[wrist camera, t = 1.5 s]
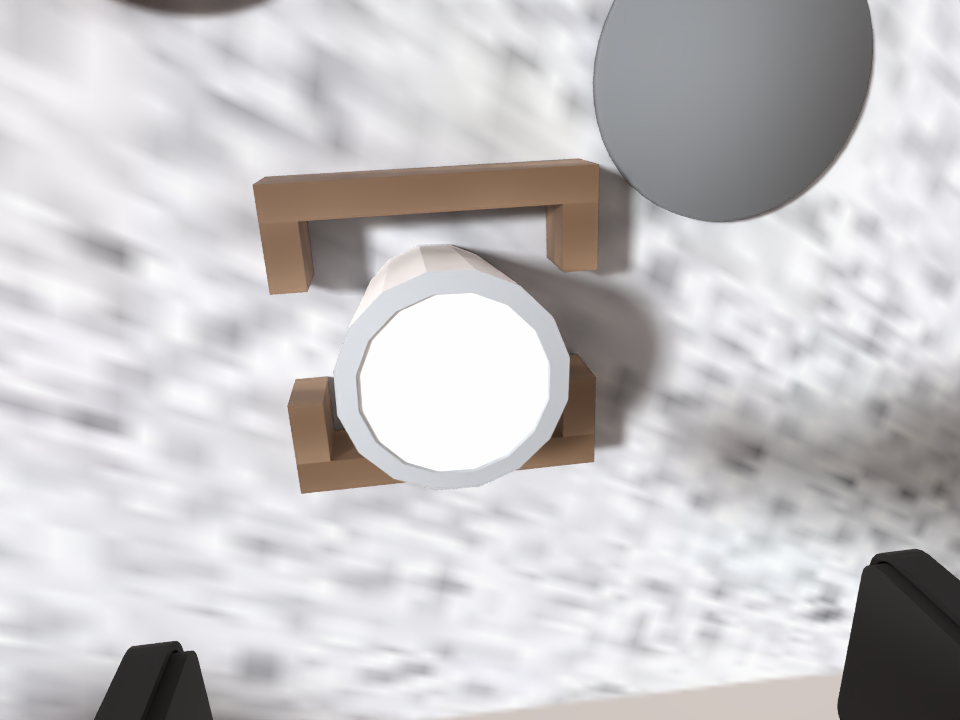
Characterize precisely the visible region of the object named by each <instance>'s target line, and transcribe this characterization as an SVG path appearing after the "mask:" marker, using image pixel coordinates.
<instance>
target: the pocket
mask: <svg viewBox="0 0 960 720" xmlns="http://www.w3.org/2000/svg"><path fill="white" fill-rule="evenodd" d="M253 190H254V196H255V203H256V209H257V216H258V222H259V228H260V235H261V241H262V247H263V254H264V260H265V266H266V273H267V279H268V285H269V292H270V295H273V294H286V293H299V292H308V289H309V286H310V284H311V281H312V278H313V276H314V270H313V262H312V255H311V247H310V240H309V232H308V224H307V221H312V220H327V219H342V218H357V217H373V216H388V215H403V214H419V213H434V212H449V211H465V210H480V209H495V208H510V207H526V206H541V205H546V228H547V258H548V259H549V260H550V261H552V262H553V263H554V264H555V265H556V266H557V267H558V268H559V269H560V270H561V271H562V272H573V271H586V270H597V260H598V200H599V164H596V163H592V162H589V161H585V160H582V159H564V160H546V161H529V162H512V163H495V164H477V165H460V166H443V167H426V168H408V169H391V170H374V171H357V172H339V173H322V174H305V175H288V176H270V177H264V178H263V179H261V180H259V181H258V182H256V183H255V184H253ZM569 357H570V364H569V392H568V401H567V403H566V406H565V408H564V410H563V412H562V414H561V416H560V419H559V421H558V423H557V425H556V427H555V429H554V432H553V434H552V436H551V438H550V439H549V440H548V441H547V442H546V443H545V444H544V445H543V446H542V447H541V448H540V449H539V450H538V451H537V452H536V453H535V454H534V455H533V456H532V457H531V458H530V459H529V460H528V461H526V462H525V463H524V464H523V465H522V466H521V467H520V468H519V469H517V470H524V469H533V468H542V467H551V466H561V465H570V464H579V463H588V462H594V441H595V380H596V377H595V376H594V375H593V373H592V372H591V371H590V370H589V368H588V367H587V366H586V364H585V363H584V362H583V361H582V359H581V358H580V357H579V356H578V354H572V355H569ZM288 413H289V419H290V425H291V432H292V438H293V444H294V451H295V457H296V463H297V470H298V476H299V483H300V489H301V494H303V493H312V492H321V491H330V490H340V489H349V488H358V487H367V486H376V485H386V484H395V483H404V481H400V480H397V479H393V478H392V477H391V476H389V475H388V474H387V473H385V472H384V471H383V470H381V469H380V468H379V467H377V466H376V465H375V464H373V463H372V462H371V461H369V460H368V459H367V458H365V457H364V456H363V455H361V454H360V453H359V452H358V450H357V449H356V447H355V445H354V444H353V442H352V440H351V438H350V437H349V435H348V433H347V431H346V430H336V431H335V428H334V421H333V413H332V406H331V398H330V391H329V383H328V377H318V378H307V379H296V380H295V383H294V387H293V390H292V393H291V396H290V400H289V403H288Z"/></svg>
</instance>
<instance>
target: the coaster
mask: <svg viewBox="0 0 960 720" xmlns="http://www.w3.org/2000/svg"><path fill="white" fill-rule="evenodd" d="M872 53H873V39H872V25H871V18H870V11H869V7H868V4H867V0H614V2H613V4H612V7H611V9H610V11H609V13H608V16H607V18H606V20H605V23H604V26H603V29H602V32H601V35H600V39H599V42H598V47H597V52H596V57H595V63H594V76H593V94H594V107H595V113H596V118H597V123H598V127H599V130H600V133H601V137H602V140H603V142H604V145H605V147H606V149H607V151H608V153H609V156H610V158H611V159H612V161H613V162H614V164H615V166H616V167H617V169H618V170H619V172H620V173H621V174H622V176H623V177H624V178H625V179H626V180H627V181H628V183H629V184H630V185H631V186H632V187H633V188H634V189H636V190H637V191H638V192H639V193H640V194H641V195H642V196H644V197H645V198H647V199H648V200H650V201H651V202H653V203H654V204H656V205H658V206H660V207H662V208H664V209H666V210H668V211H671V212H673V213H676V214H679V215H682V216H686V217H689V218H692V219H699V220H706V221H729V220H737V219H743V218H747V217H750V216H754V215H758V214H761V213H763V212H765V211H768V210H770V209H773V208H775V207H777V206H779V205H780V204H782V203H784V202H786V201H787V200H789V199H791V198H792V197H794V196H795V195H796V194H798V193H799V192H800V191H802V190H803V189H805V188H806V187H807V186H808V185H809V184H810V183H811V182H812V181H814V180H815V179H816V178H817V177H818V176H819V175H820V174H821V173H822V172H823V170H824V169H825V168H826V167H827V166H828V165H829V164H830V163H831V161H832V160H833V159H834V157H835V156H836V155H837V153H838V152H839V150H840V149H841V147H842V146H843V145H844V143H845V141H846V139H847V137H848V136H849V134H850V132H851V130H852V129H853V127H854V124H855V122H856V120H857V117H858V115H859V113H860V110H861V108H862V104H863V101H864V98H865V95H866V92H867V88H868V83H869V78H870V73H871V65H872Z"/></svg>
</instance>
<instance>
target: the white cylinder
mask: <svg viewBox="0 0 960 720" xmlns="http://www.w3.org/2000/svg"><path fill="white" fill-rule="evenodd" d="M569 364H570V357H569V354H568V352H567V349H566V347H565V344H564V342H563V339H562V337H561V335H560V332H559V330H558V327H557V325H556V322H555V320H554V317H553V316H552V315H551V314H550V313H548V312H547V311H546V310H545V309H544V308H543V307H542V306H541V305H540V304H539V303H538V302H537V301H536V300H535V299H534V298H533V297H532V296H531V295H530V294H529V293H527V292H526V291H525V290H524V289H523V288H522V287H521V286H520V285H518V284H517V283H516V282H514V281H513V280H511V279H510V278H509V277H507V276H506V275H504V274H503V273H502V272H500V271H499V270H497V269H496V268H495V267H493V266H492V265H490V264H489V263H488V262H486V261H485V260H483V259H482V258H481V257H479V256H478V255H476V254H474V253H471V252H468V251H466V250H463V249H460V248H458V247H455V246H452V245H450V244H439V245H418V246H416V247H414V248H412V249H409V250H407V251H405V252H403V253H401V254H398V255H396V256H394V257H392V258H391V259H390V260H389V261H388V262H387V263H386V264H385V265H384V266H383V267H382V268H381V269H380V270H379V272H378V273H377V274H376V275H375V276H374V277H373V278H372V279H371V281H370V283H369V285H368V287H367V289H366V292H365V294H364V296H363V298H362V300H361V302H360V304H359V307H358V309H357V311H356V313H355V315H354V317H353V319H352V322H351V324H350V326H349V328H348V331H347V334H346V336H345V339H344V342H343V345H342V348H341V351H340V354H339V356H338V359H337V362H336V365H335V368H334V371H333V374H334V385H335V396H336V407H337V416H338V417H339V419H340V421H341V423H342V424H343V426H344V428H345V430H346V431H347V433H348V435H349V437H350V438H351V440H352V442H353V444H354V445H355V447H356V449H357V450H358V452H359V453H360V454H361V455H363V456H364V457H365V458H367V459H368V460H369V461H371V462H372V463H373V464H375V465H376V466H377V467H379V468H380V469H381V470H383V471H384V472H385V473H387V474H388V475H389V476H391V477H392V478H393V479H397V480H400V481H404V482H408V483H411V484H415V485H419V486H422V487H426V488H429V489H433V490H443V489H455V488H467V487H479V486H481V485H484V484H486V483H488V482H490V481H493V480H495V479H497V478H499V477H502V476H504V475H506V474H508V473H510V472H513V471H515V470H517V469H519V468H520V467H521V466H522V465H523V464H524V463H525V462H526V461H528V460H529V459H530V458H531V457H532V456H533V455H534V454H535V453H536V452H537V451H538V450H539V449H540V448H541V447H542V446H543V445H544V444H545V443H546V442H547V441H548V440H549V439H550V438H551V436H552V434H553V432H554V429H555V427H556V425H557V423H558V421H559V419H560V416H561V414H562V412H563V410H564V408H565V406H566V403H567V401H568V392H569Z"/></svg>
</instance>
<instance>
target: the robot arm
mask: <svg viewBox="0 0 960 720" xmlns="http://www.w3.org/2000/svg"><path fill="white" fill-rule="evenodd" d="M837 708H838V714H839V718H840V720H960V580H958V579H957V578H956V577H955V576H954V575H952V574H951V573H950V572H949V571H948V570H947V569H945V568H944V567H943V566H942V565H941V564H939V563H938V562H937V561H936V560H935V559H933V558H932V557H931V556H930V555H928V554H927V553H925V552H924V551H922V550H918V549H910V550H902V551H894V552H886V553H880V554H876V555H875V556H874V557H873V558H872V560H871V563H870V565H869V566H866V567H865V568H864V569H863V572H862V576H861V581H860V586H859V592H858V597H857V602H856V608H855V613H854V618H853V624H852V629H851V634H850V639H849V645H848V650H847V655H846V661H845V666H844V671H843V677H842V682H841V687H840V692H839V698H838V707H837ZM94 720H213V718H212V714H211V710H210V706H209V701H208V697H207V693H206V689H205V685H204V681H203V677H202V673H201V669H200V665H199V661H198V657H197V654H196V653H195V652H194V651H186V652H184V651H183V648H182V646H181V644H180V643H179V642H178V641H171V642H163V643H155V644H147V645H139V646H132V647H131V648H129V649H128V650H127V652H126V653H125V655H124V657H123V659H122V661H121V663H120V665H119V667H118V670H117V672H116V674H115V676H114V678H113V680H112V682H111V685H110V687H109V689H108V691H107V693H106V695H105V697H104V699H103V702H102V704H101V706H100V708H99V710H98V712H97V714H96V716H95V719H94Z"/></svg>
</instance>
